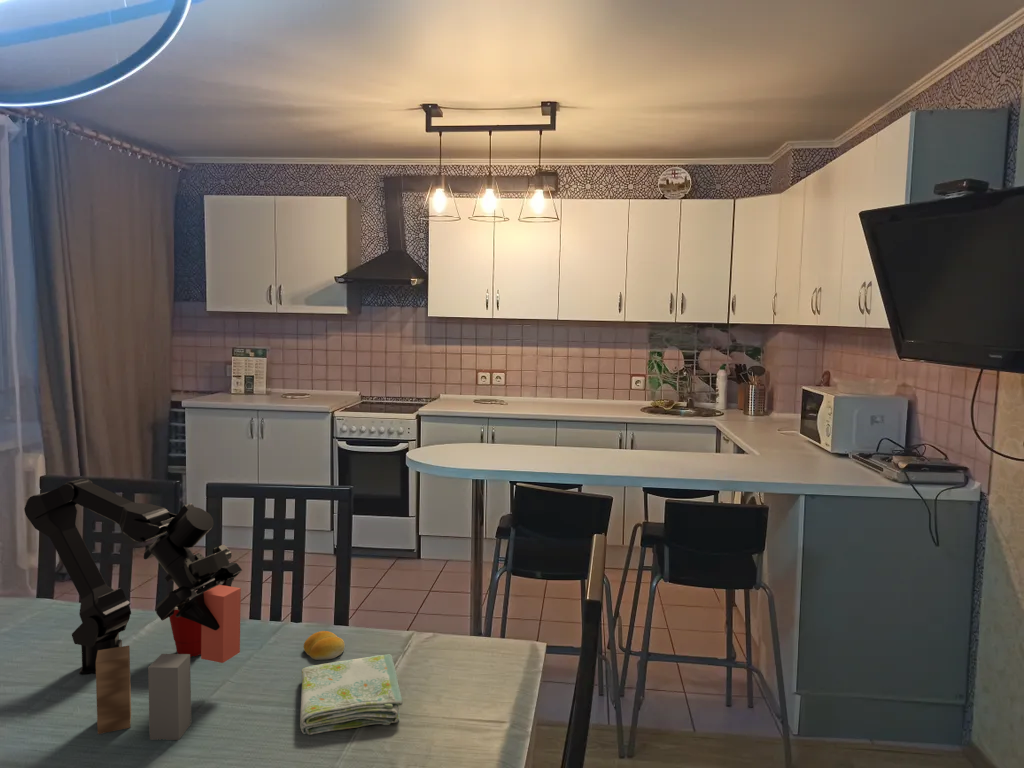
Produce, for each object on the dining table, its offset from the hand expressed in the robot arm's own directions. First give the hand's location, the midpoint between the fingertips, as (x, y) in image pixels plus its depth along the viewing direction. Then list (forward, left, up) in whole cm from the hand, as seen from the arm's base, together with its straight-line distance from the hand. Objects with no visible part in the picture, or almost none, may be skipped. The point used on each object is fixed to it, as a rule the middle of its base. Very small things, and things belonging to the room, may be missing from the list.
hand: (227, 623), depth 140 cm
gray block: (-8, -13, -13) cm, 20 cm away
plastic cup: (-9, +19, -14) cm, 25 cm away
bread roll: (+19, +13, -14) cm, 26 cm away
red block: (-1, +1, -7) cm, 7 cm away
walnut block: (-18, -8, -13) cm, 24 cm away
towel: (+23, -10, -14) cm, 29 cm away
